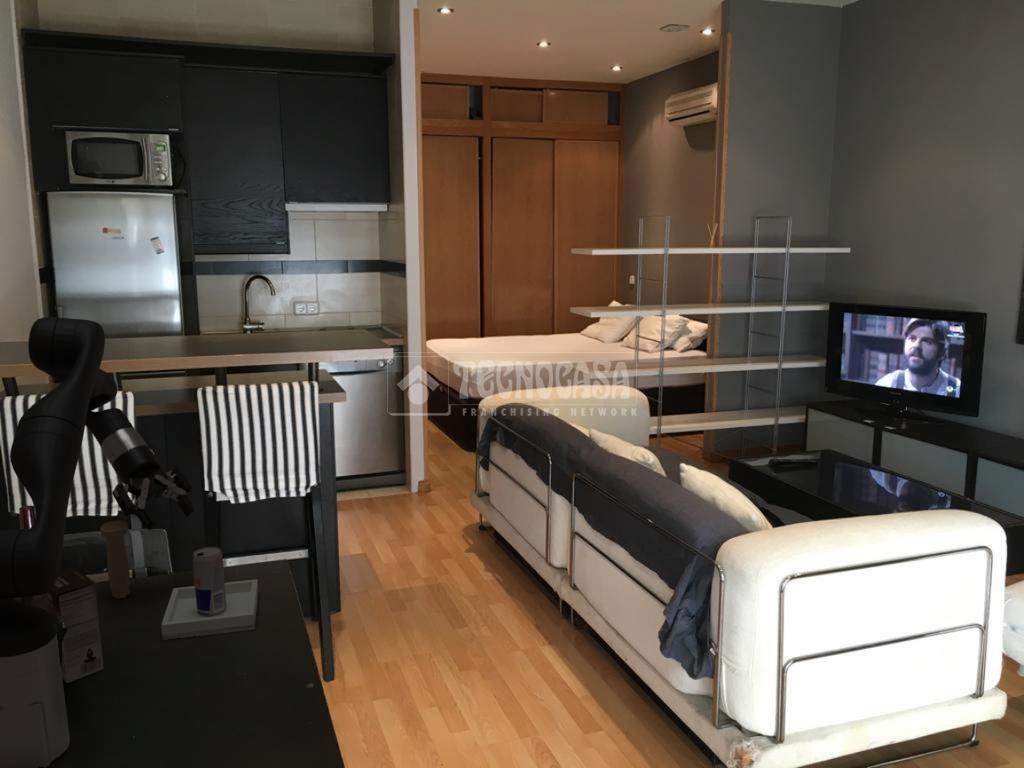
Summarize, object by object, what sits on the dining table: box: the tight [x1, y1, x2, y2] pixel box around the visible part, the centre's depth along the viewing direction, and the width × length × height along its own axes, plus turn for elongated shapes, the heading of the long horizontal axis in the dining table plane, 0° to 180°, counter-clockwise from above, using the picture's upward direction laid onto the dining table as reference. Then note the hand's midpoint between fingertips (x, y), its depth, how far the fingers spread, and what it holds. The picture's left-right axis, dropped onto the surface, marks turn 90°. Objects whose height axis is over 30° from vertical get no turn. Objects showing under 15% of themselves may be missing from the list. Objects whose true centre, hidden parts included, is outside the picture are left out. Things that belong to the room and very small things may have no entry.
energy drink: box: [192, 546, 226, 616], centre depth 160 cm, size 5×5×12 cm
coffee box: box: [47, 566, 105, 684], centre depth 142 cm, size 9×6×16 cm
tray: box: [160, 578, 259, 641], centre depth 161 cm, size 16×16×3 cm
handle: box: [99, 519, 131, 600], centre depth 169 cm, size 5×6×15 cm
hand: (172, 520), depth 163 cm, fingers open, 8 cm apart
